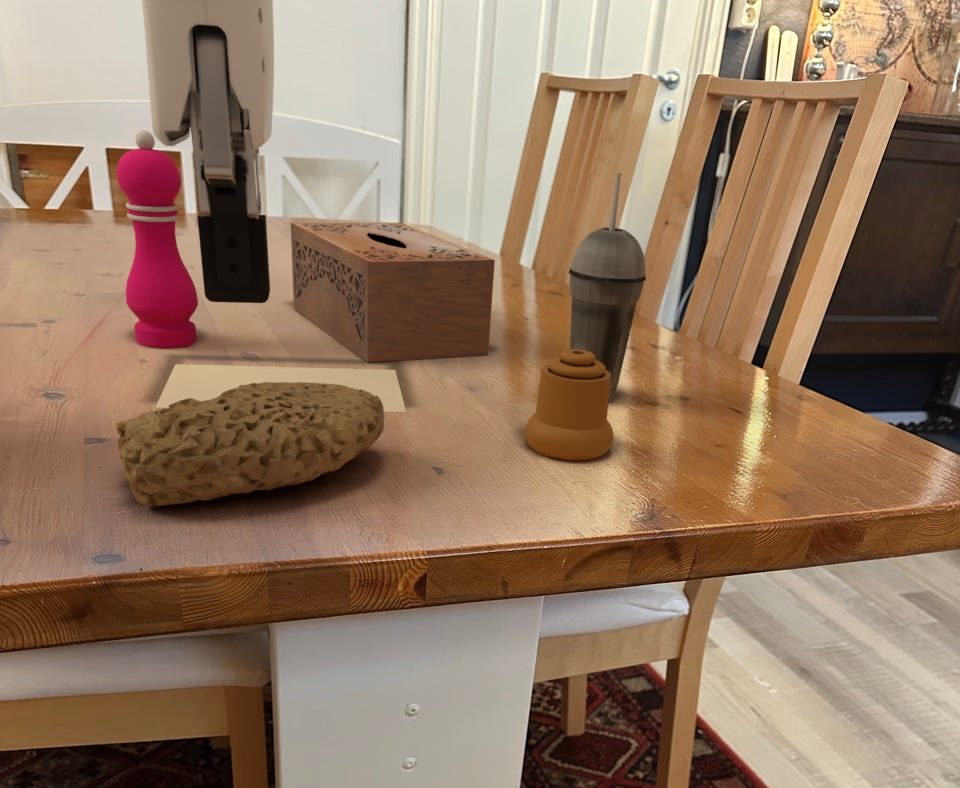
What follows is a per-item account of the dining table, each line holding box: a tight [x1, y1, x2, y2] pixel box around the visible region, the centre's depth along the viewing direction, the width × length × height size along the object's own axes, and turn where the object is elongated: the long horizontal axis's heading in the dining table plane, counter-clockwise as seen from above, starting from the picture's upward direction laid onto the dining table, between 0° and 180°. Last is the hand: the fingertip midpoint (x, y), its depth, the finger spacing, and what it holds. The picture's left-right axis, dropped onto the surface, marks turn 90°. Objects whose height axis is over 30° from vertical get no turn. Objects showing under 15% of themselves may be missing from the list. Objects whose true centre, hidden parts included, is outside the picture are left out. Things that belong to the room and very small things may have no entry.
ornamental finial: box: [524, 348, 614, 462], centre depth 77 cm, size 8×8×8 cm
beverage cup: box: [568, 172, 647, 403], centre depth 88 cm, size 7×7×20 cm
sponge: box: [115, 382, 386, 507], centre depth 67 cm, size 13×8×20 cm
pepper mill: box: [116, 129, 199, 349], centre depth 95 cm, size 7×7×20 cm
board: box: [154, 363, 407, 414], centre depth 89 cm, size 22×14×1 cm, turn 99°
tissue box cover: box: [290, 222, 496, 363], centre depth 108 cm, size 26×14×10 cm, turn 27°
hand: (238, 298), depth 48 cm, fingers closed
